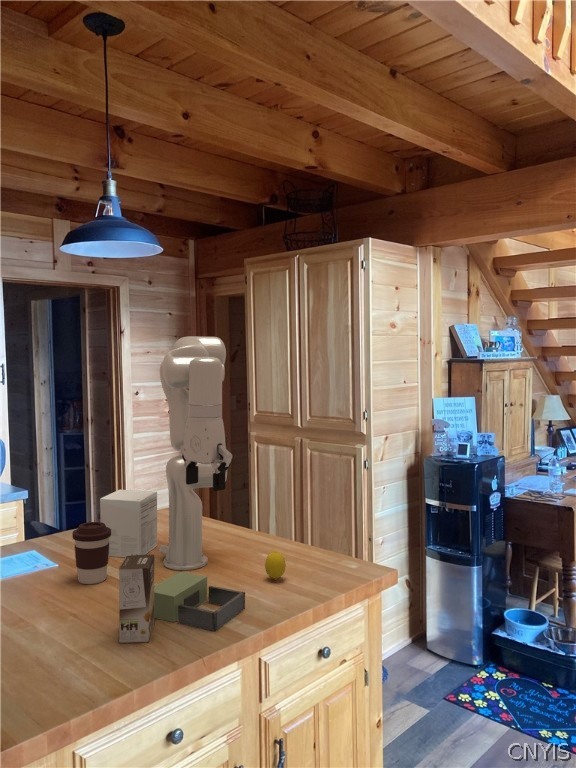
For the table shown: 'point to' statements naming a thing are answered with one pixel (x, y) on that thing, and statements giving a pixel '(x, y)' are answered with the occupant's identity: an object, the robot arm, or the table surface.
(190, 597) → the sage green box
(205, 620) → the frame
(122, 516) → the supplement box
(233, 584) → the table surface
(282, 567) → the lemon
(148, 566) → the coffee box
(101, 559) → the coffee cup
